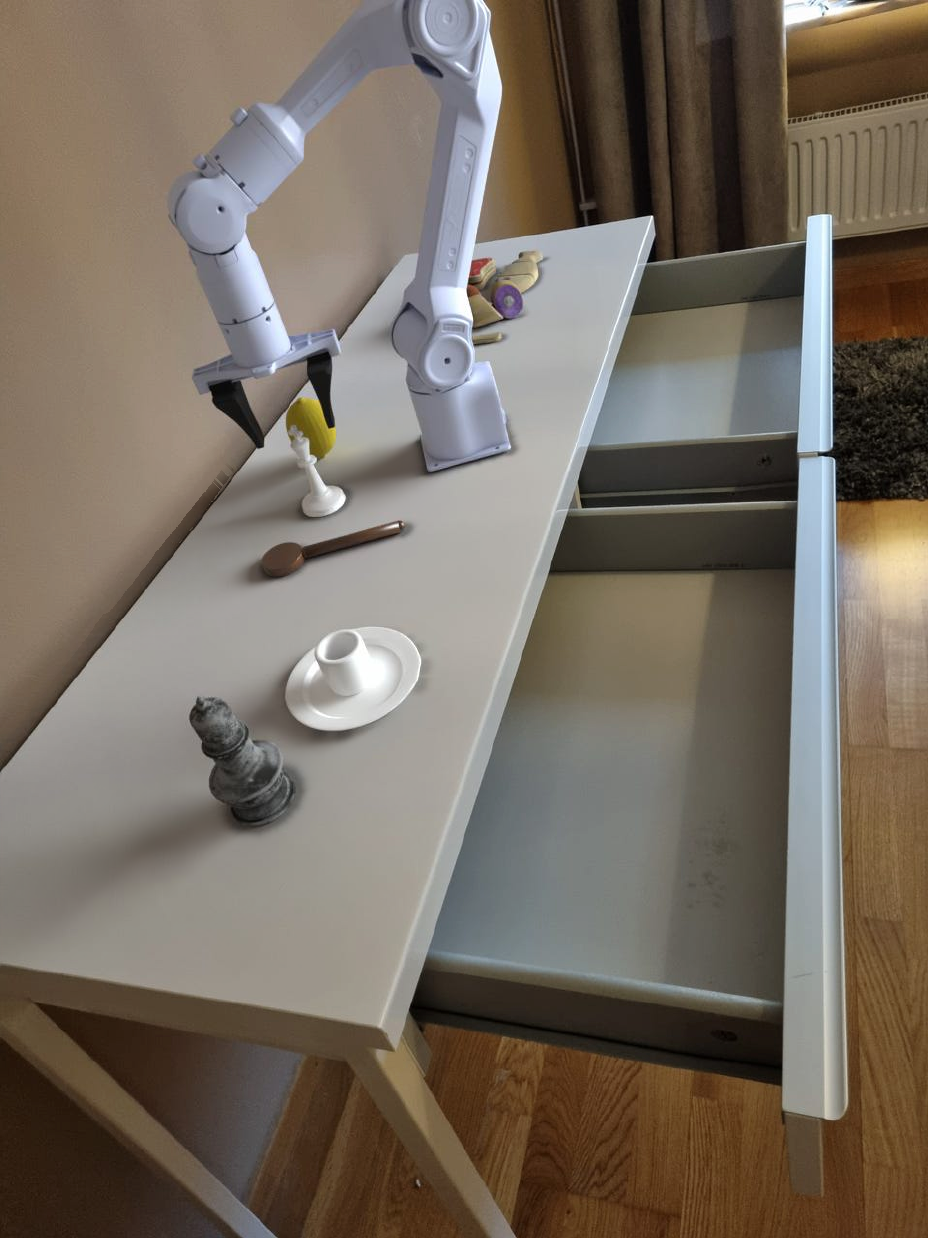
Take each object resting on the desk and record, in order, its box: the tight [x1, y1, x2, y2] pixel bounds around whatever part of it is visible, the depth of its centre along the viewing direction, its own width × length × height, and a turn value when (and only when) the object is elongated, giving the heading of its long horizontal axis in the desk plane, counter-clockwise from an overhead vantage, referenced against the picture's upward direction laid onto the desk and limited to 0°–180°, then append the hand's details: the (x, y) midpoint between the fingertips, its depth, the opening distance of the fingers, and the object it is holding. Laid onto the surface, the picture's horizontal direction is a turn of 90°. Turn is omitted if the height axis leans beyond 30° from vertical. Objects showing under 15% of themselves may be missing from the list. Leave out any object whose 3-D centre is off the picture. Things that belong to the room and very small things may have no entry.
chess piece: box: [287, 425, 347, 518], centre depth 95 cm, size 5×5×10 cm
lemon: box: [285, 397, 337, 459], centre depth 103 cm, size 6×6×8 cm
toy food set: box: [466, 250, 544, 345], centre depth 127 cm, size 26×16×4 cm, turn 168°
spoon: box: [261, 519, 406, 578], centre depth 91 cm, size 15×4×1 cm, turn 98°
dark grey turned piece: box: [188, 696, 296, 828], centre depth 65 cm, size 6×6×12 cm
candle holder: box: [284, 626, 422, 732], centre depth 75 cm, size 12×12×4 cm
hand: (296, 433), depth 92 cm, fingers open, 7 cm apart
